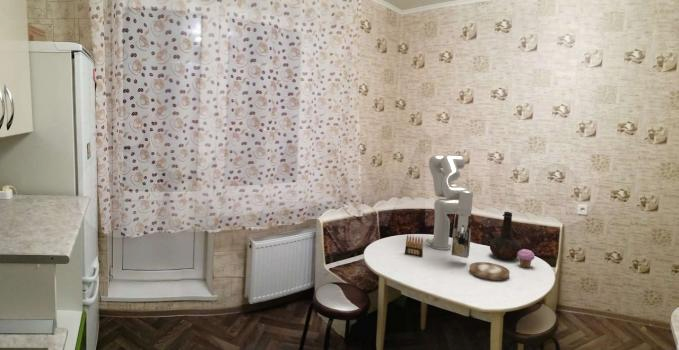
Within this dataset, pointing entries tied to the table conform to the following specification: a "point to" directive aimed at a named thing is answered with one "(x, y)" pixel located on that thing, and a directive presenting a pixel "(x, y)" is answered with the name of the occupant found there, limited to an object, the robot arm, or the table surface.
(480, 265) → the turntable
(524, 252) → the cupcake
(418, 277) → the table surface
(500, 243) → the dark brown vase
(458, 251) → the coffee box
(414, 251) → the ammunition clip
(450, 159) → the robot arm
